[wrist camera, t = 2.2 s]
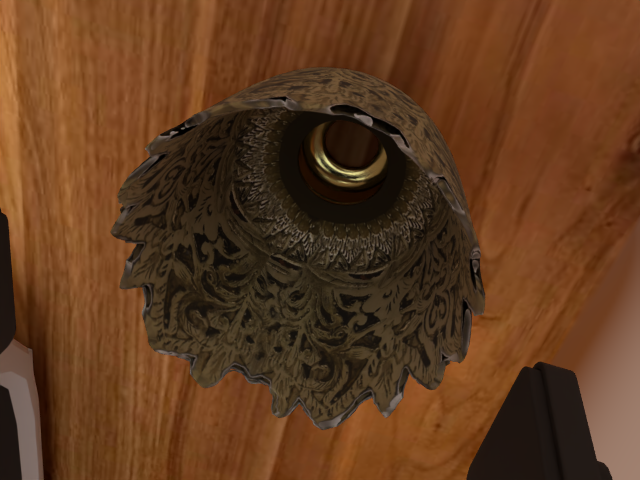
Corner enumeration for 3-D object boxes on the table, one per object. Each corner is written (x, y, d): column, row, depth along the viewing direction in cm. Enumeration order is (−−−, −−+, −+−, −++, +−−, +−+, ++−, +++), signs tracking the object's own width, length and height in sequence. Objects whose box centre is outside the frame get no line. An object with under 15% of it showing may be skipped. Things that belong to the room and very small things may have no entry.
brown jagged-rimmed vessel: (205, 182, 20) (74, 333, 14) (286, -35, 16) (160, 25, 10) (402, 281, 21) (371, 476, 14) (530, 92, 17) (571, 236, 10)
